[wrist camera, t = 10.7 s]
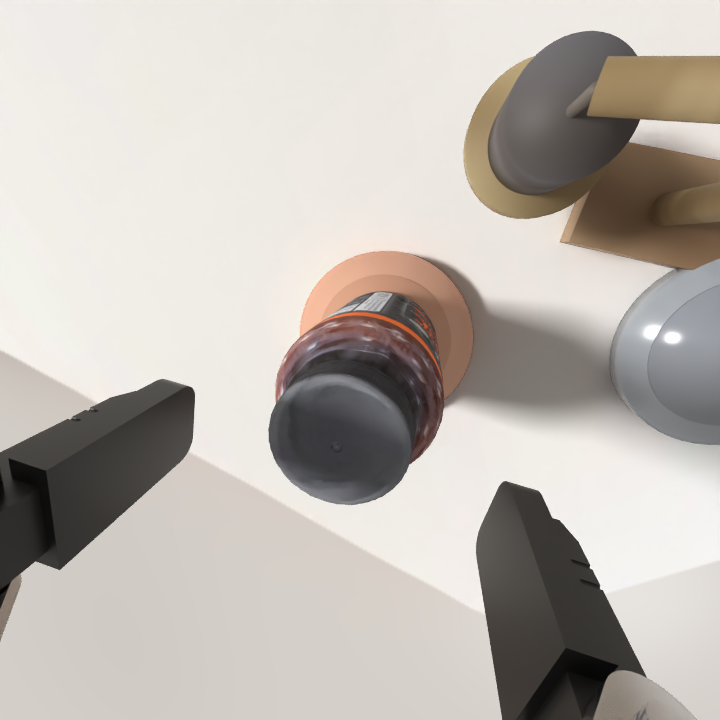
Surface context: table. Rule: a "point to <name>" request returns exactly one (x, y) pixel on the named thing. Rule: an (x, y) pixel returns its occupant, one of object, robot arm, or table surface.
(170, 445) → the robot arm
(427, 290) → the terracotta dish
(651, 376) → the slate dish
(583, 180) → the balance
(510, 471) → the table surface
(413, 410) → the supplement bottle
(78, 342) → the table surface
